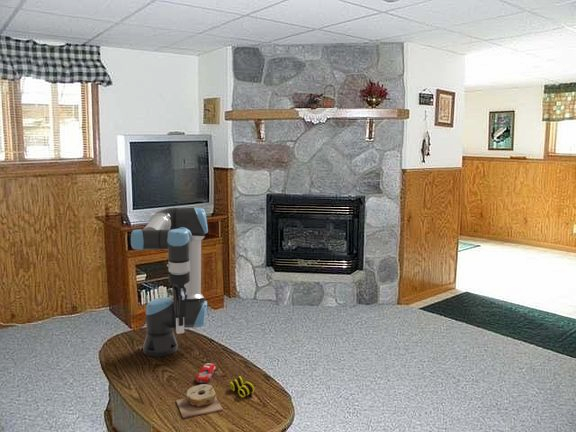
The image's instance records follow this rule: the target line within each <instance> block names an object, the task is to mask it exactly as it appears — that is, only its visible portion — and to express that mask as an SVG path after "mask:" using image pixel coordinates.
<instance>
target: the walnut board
mask: <svg viewBox="0 0 576 432" xmlns="http://www.w3.org/2000/svg"><path fill="white" fill-rule="evenodd" d="M175 402H176V405H177V407H178V409H179V412H180V416H181V417H182V419H189V418H193V417H199V416H203V415H207V414H212V413H217V412H221V411H223V410H224V409H223V407H222V405H221V403H220V401H219V399H218V398H217V396H216V395H215V400H214V401H213V402H212V403H211V404H208V405H204V406H199V407H198V406H194V405H191V404H190V403H189V402H188V401H187V398H186V397H185V398H180V399H176V400H175Z"/></svg>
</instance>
